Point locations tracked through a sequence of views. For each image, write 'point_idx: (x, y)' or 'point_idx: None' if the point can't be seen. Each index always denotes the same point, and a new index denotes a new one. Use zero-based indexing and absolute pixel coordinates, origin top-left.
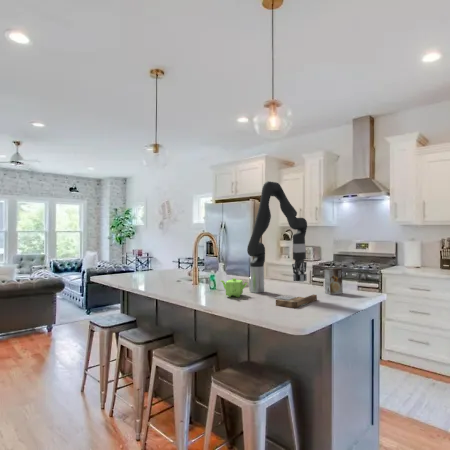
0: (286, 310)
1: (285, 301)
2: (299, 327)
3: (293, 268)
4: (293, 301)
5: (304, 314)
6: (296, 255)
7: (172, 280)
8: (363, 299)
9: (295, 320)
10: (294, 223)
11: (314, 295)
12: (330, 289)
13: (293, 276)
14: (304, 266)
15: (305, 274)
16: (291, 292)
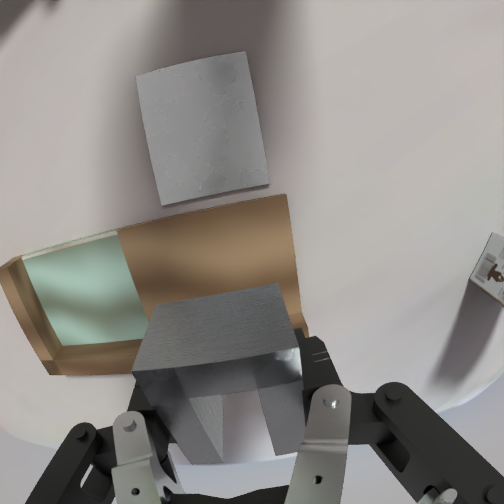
0: (17, 348)
1: (22, 327)
2: (3, 428)
3: (45, 491)
4: (51, 360)
5: (49, 410)
6: None
7: None
8: None
9: (8, 410)
10: None
11: None
12: (487, 292)
13: (141, 346)
14: (413, 487)
15: (275, 452)
16: (413, 40)
